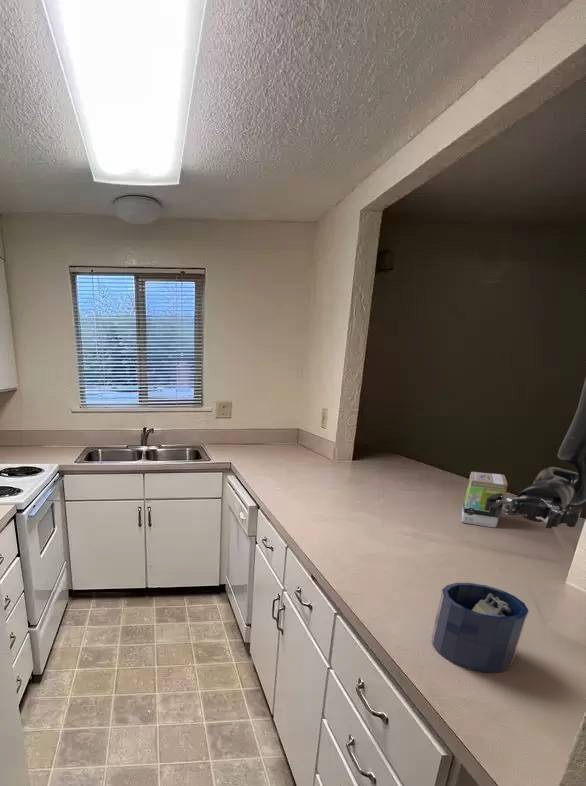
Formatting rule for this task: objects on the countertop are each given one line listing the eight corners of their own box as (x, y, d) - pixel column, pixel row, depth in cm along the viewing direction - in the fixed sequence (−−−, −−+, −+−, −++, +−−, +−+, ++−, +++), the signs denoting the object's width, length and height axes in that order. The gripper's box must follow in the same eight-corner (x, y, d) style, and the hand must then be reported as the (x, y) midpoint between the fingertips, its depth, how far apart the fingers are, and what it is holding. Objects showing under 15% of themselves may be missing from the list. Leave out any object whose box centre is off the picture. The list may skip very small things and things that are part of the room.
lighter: (486, 658, 79) (522, 615, 75) (467, 650, 79) (502, 607, 75) (466, 635, 86) (498, 594, 82) (449, 628, 85) (480, 587, 82)
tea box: (497, 528, 139) (508, 484, 134) (460, 523, 144) (470, 480, 139) (495, 514, 151) (505, 473, 146) (461, 510, 156) (470, 470, 151)
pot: (463, 625, 90) (474, 577, 86) (528, 662, 78) (545, 609, 75) (416, 639, 85) (426, 590, 82) (478, 680, 74) (494, 626, 70)
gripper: (507, 476, 94) (481, 490, 84) (594, 488, 83) (576, 506, 74) (499, 509, 96) (472, 526, 86) (583, 525, 86) (564, 547, 76)
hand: (520, 517), depth 80 cm, fingers open, 8 cm apart
